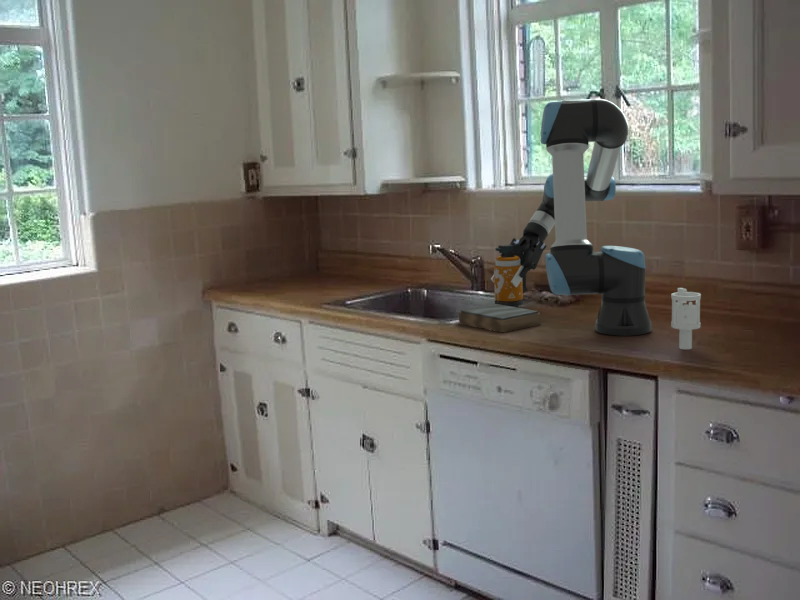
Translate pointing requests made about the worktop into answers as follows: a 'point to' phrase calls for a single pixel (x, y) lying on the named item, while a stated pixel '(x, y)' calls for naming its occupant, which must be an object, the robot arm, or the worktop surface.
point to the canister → (509, 275)
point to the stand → (500, 317)
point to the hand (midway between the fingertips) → (503, 283)
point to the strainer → (685, 315)
